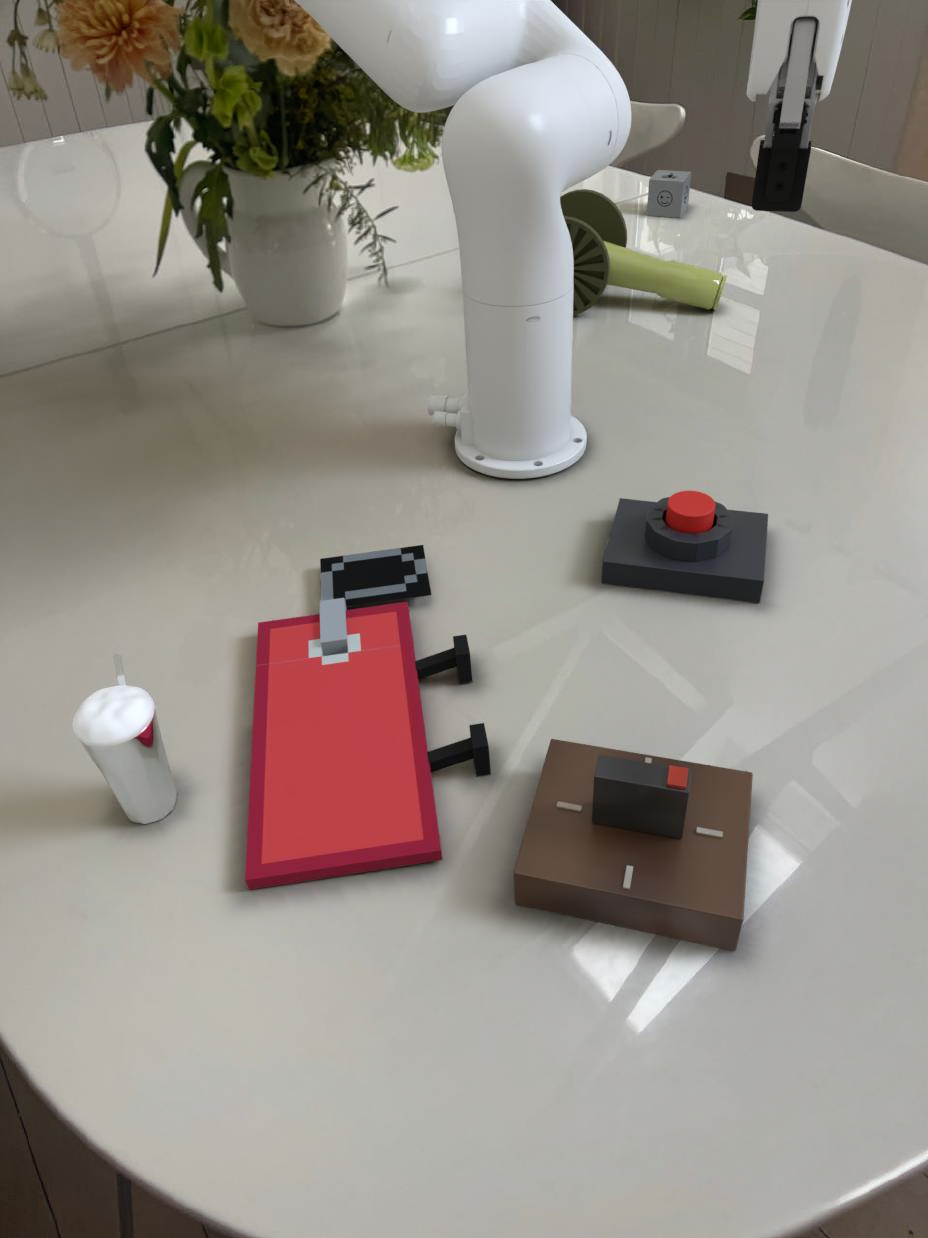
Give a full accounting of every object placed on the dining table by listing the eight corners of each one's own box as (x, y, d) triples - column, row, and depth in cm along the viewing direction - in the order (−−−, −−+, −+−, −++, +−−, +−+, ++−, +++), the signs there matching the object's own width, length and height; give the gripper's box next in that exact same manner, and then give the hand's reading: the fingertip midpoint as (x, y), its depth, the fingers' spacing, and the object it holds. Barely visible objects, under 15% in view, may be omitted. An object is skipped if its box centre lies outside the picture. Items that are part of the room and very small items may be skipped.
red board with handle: (446, 550, 78) (264, 575, 77) (443, 522, 76) (257, 548, 75) (506, 854, 55) (250, 894, 54) (504, 825, 53) (239, 866, 53)
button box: (601, 583, 74) (603, 542, 71) (618, 519, 81) (620, 479, 78) (759, 603, 71) (767, 561, 69) (764, 535, 78) (772, 494, 75)
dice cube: (646, 215, 140) (649, 179, 137) (655, 204, 143) (657, 169, 140) (680, 217, 138) (683, 181, 135) (687, 207, 142) (691, 171, 138)
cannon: (728, 291, 117) (741, 194, 109) (716, 330, 108) (728, 228, 101) (533, 277, 124) (532, 185, 116) (507, 313, 115) (504, 216, 108)
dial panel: (514, 904, 53) (513, 871, 51) (550, 770, 60) (550, 736, 58) (735, 952, 50) (744, 918, 48) (745, 804, 57) (753, 770, 55)
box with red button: (591, 822, 53) (594, 773, 50) (596, 800, 54) (598, 751, 51) (682, 839, 52) (689, 789, 49) (684, 816, 53) (692, 766, 50)
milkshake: (196, 764, 62) (155, 651, 55) (180, 831, 58) (134, 717, 51) (127, 768, 62) (78, 656, 55) (106, 835, 58) (51, 722, 51)
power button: (663, 532, 73) (664, 513, 71) (668, 506, 75) (670, 488, 74) (711, 537, 72) (713, 518, 71) (714, 511, 74) (717, 492, 73)
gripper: (763, -142, 58) (726, 173, 70) (751, -128, 48) (710, 243, 59) (893, -150, 57) (832, 176, 69) (911, -136, 46) (835, 248, 58)
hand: (775, 206), depth 64 cm, fingers closed
